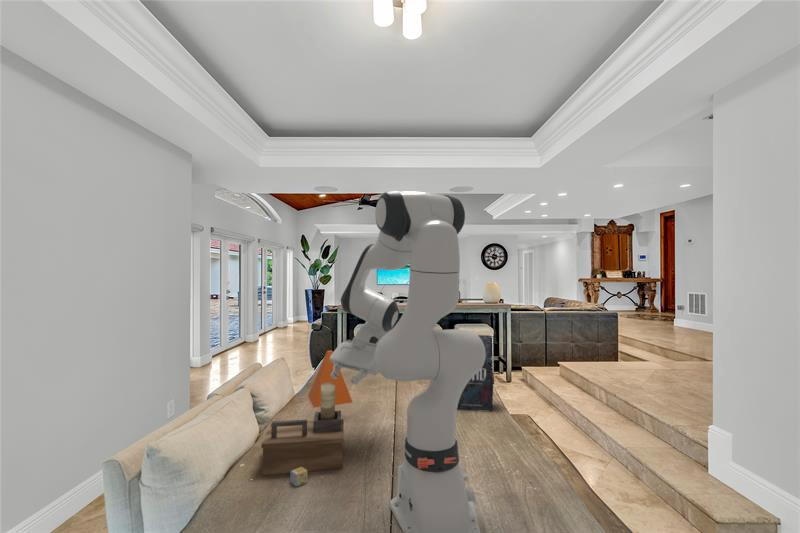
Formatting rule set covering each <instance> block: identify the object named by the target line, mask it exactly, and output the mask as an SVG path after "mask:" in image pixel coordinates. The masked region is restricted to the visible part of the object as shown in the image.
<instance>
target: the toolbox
mask: <svg viewBox="0 0 800 533" xmlns="http://www.w3.org/2000/svg"><path fill="white" fill-rule="evenodd" d="M313 418H314V419H313V420H310V421H309V420H308V419H291V420H277V421H276V420H273V421H272V422H271V424H270V425H269V427H268V429H267V431H266V434H265V436H264V438H263V440H262V442H261V443H260V444H261V445H260V446H261V447H260V448H261V449H262V475H263V476H264V475H278V474H291V471H292V470H295V469H297V468H300V467H303V468H304V469H306V470H307V472H313V471H314V472H315V471H316V472H317V471H328V470H340V469H342V470H343V456H344V455H343V452H344V451H343V449H344V447H343V443H344V441H345V436H344V434H345V432H344V431H345V430H344V427H345V426H344V423H345V422H344V421H345V420H344V418H342V411H341V410H335V419H330V420H321V411H315V412H314V417H313Z"/></svg>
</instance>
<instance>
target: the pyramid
mask: <svg viewBox="0 0 800 533" xmlns="http://www.w3.org/2000/svg"><path fill="white" fill-rule="evenodd" d="M333 352H334V351H333V350H326V352H325V354H324V357H323V360H322V362H321V363H320V367H319V369H318V371H317V373H316V376H315V378H314V380H313V383H312V385H311V386H310V387H311V388H310V390H309V392H308V393H307V396H308V398H309V401H310V403H311V406H312V408H315V409H316V408H321V384H323V383H334V384H335V406H337V405H344V404H345V403H346V404H352V403H353V400H352V396H351V394H350V392H349V389H348V387H347V384H346V382H345V380H344V376H343V374H342V371H341V369H339V371H338V374H339V376H338V377H337V379H334V378H332V377H331V376H330V375H331V373H332V372H333V367H334V364H333V363H332V362H331V361H330V356H331V354H332V353H333Z"/></svg>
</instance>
